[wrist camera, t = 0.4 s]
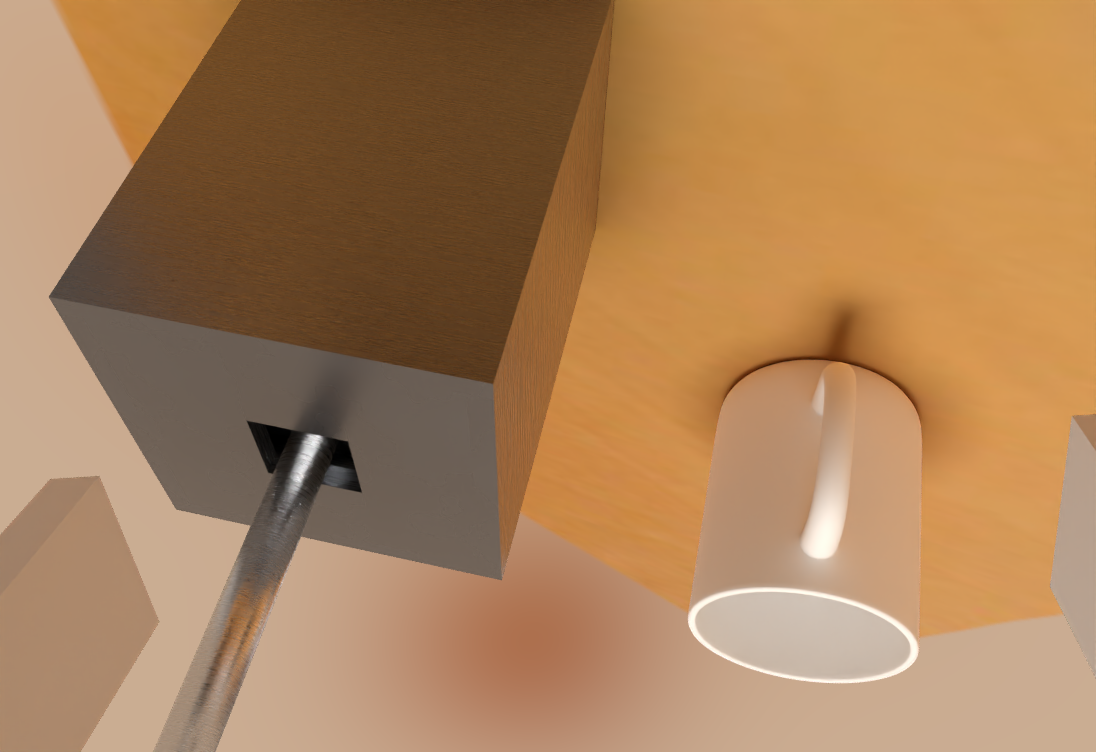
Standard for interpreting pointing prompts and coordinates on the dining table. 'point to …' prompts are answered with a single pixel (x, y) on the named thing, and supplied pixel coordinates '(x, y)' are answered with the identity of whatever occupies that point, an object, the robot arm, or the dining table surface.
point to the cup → (812, 526)
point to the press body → (357, 263)
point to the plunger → (248, 595)
